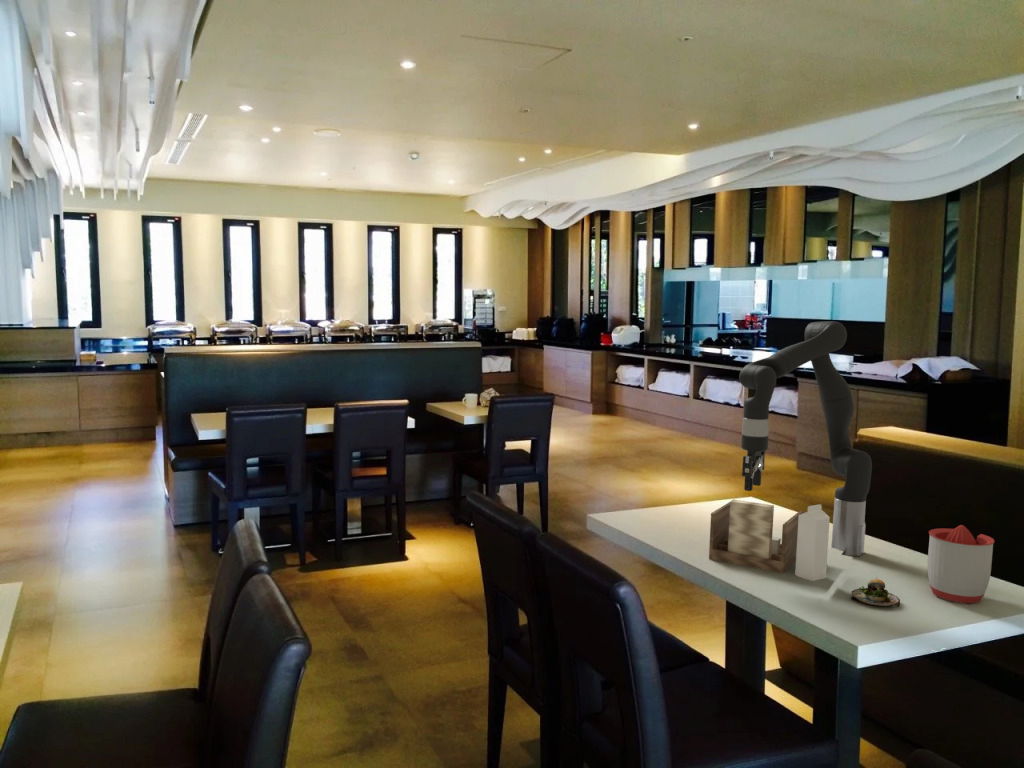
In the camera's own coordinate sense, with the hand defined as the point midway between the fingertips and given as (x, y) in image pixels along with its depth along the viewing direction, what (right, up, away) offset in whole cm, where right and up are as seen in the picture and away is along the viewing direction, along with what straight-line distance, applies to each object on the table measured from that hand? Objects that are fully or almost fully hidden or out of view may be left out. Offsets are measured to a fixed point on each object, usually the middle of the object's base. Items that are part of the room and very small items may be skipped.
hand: (752, 487), depth 240 cm
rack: (+3, -24, +8) cm, 25 cm away
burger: (+26, -28, -23) cm, 44 cm away
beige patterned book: (0, -23, +2) cm, 23 cm away
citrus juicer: (+51, -27, -18) cm, 60 cm away
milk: (+14, -26, -8) cm, 30 cm away
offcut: (+7, -22, +5) cm, 24 cm away
